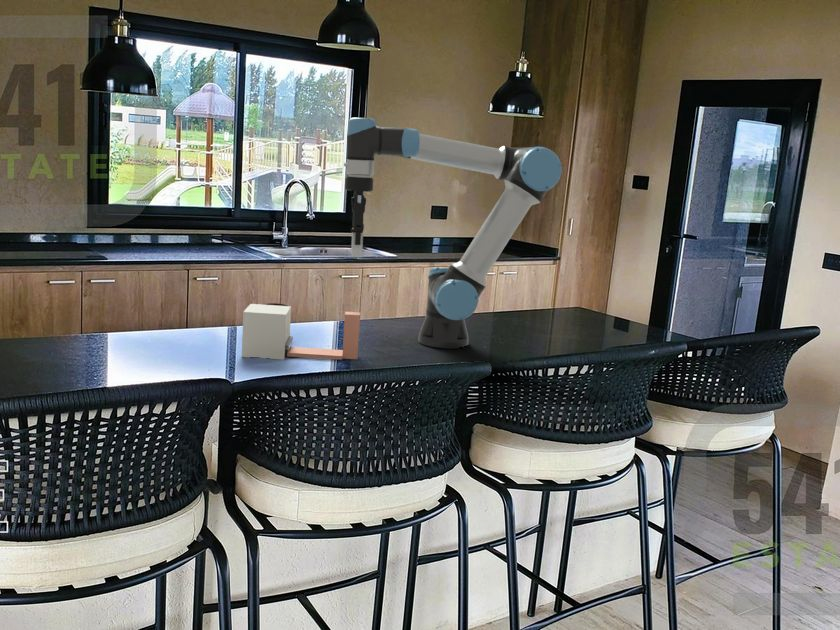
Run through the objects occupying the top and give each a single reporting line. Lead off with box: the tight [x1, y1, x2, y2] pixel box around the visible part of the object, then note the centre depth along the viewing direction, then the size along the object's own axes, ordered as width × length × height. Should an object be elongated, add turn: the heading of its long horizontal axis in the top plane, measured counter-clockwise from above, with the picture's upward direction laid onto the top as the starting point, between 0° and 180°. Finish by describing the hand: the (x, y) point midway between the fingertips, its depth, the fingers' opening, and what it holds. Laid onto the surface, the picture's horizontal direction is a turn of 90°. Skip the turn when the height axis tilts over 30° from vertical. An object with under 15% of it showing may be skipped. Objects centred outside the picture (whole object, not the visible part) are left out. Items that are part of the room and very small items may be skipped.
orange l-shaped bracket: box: [286, 311, 361, 361], centre depth 226 cm, size 18×7×12 cm, turn 92°
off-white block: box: [241, 303, 294, 361], centre depth 225 cm, size 12×12×12 cm
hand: (356, 254), depth 233 cm, fingers open, 13 cm apart
